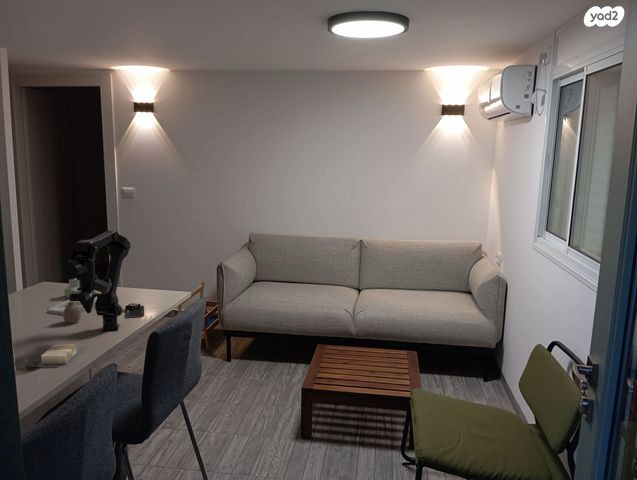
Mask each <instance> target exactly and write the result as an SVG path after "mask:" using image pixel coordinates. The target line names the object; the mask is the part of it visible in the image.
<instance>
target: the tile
mask: <svg viewBox="0 0 637 480" xmlns="http://www.w3.org/2000/svg"><path fill="white" fill-rule="evenodd" d="M77 348H78V346H77V343H75V344H73V343H72V344H71V343H70V344H62V343H61V344H53V345H52V346H50V347H49V348H48V349H47V350H46V351H45V352H44V353H42V354H41V361H42V364H66V363H67V362H68V361H69V360H70V359H71V358H72V357H73V356H74V355H75V354H76V353H77Z"/></svg>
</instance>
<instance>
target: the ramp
mask: <svg viewBox="0 0 637 480" xmlns="http://www.w3.org/2000/svg"><path fill="white" fill-rule="evenodd" d="M96 300H97V297H96V298H95V299H94V302H93V306H92V310H96V309H95V302H96ZM70 302H74V303H75V305H76V306H77V307H78V308H79V309H80V312H81V313H83V312H86V310H85V309H84V307H83V306H82V304H81V303H80V301H69V299H67V300H65V301H63V302H60V303H58V304H55V305H54V306H52V307H50V308H48V309H47V310H46V313H48V314H55V315H61V316H63V311H64V309H65V308H66V306H67V305H68V303H70Z"/></svg>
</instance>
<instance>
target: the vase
mask: <svg viewBox="0 0 637 480" xmlns="http://www.w3.org/2000/svg"><path fill="white" fill-rule="evenodd" d="M81 313H82V312H80V309H79V308H78V307H77V306H76V305H75V303H74V302H70V303H68V305H67V306H66V308H65V309H64V311H63V315H62V317H63V321H64V322H65V323H66V324H69V325H73V324H77V323H78V322H79V320H81V317H82V316H81Z"/></svg>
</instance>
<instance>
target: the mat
mask: <svg viewBox="0 0 637 480" xmlns="http://www.w3.org/2000/svg"><path fill="white" fill-rule="evenodd" d="M86 349H87V348H86V347H77V353H76V354H75V355H74V356H73V357H72V358H71V359H70V360H69V361H68V362H67V363H66V364H42V360H41V361H40V362H39V363H40V365H38V364H37V365H38V366H37V365H36V366H35V367H37V368H38V367H44V368H45V367H70V366H71V365H72V363H74V362H75V361H76V359H78V358H79V356H81V354H82V353H83V352H85V350H86Z"/></svg>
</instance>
